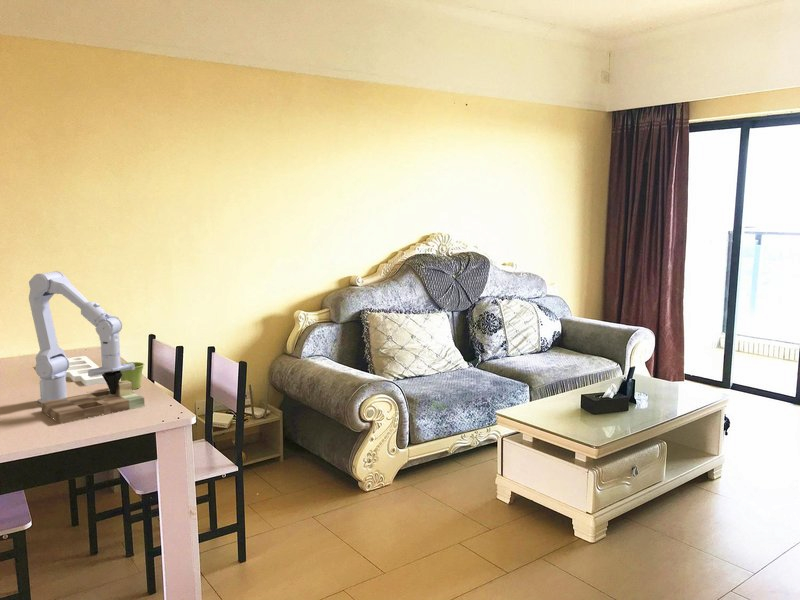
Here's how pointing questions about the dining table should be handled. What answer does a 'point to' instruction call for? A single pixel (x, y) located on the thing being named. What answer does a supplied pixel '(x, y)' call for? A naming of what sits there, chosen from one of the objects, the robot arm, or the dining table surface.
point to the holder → (83, 371)
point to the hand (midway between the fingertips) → (113, 393)
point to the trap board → (90, 405)
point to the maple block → (124, 388)
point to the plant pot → (133, 375)
